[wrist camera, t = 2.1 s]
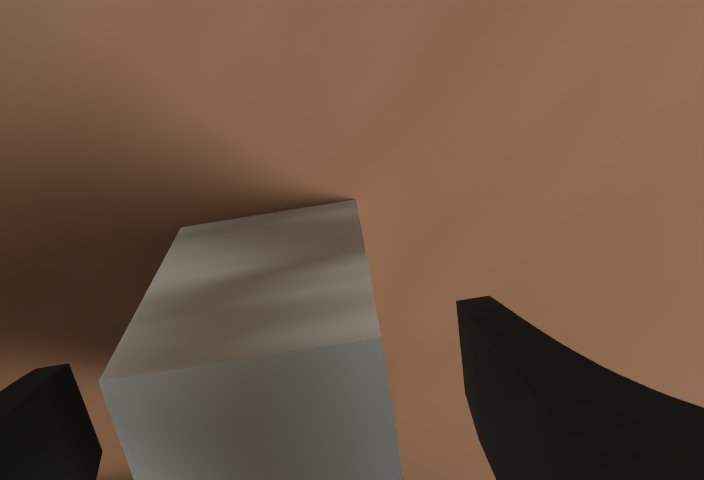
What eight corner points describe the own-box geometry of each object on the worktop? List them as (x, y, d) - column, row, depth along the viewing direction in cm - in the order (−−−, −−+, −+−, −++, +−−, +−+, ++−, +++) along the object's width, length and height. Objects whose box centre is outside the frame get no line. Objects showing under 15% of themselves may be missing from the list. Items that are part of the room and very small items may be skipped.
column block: (355, 198, 14) (380, 337, 9) (379, 348, 16) (413, 546, 10) (181, 227, 14) (97, 382, 9) (221, 374, 16) (171, 584, 10)
